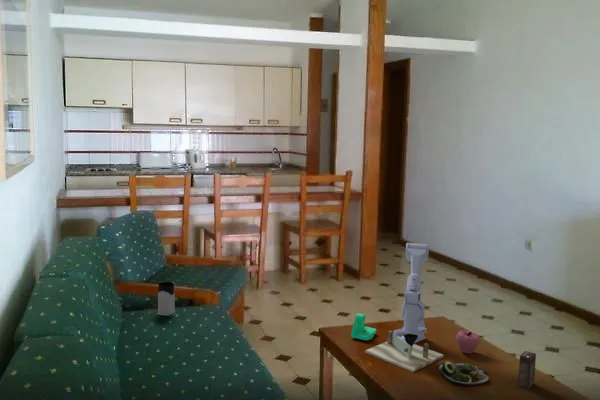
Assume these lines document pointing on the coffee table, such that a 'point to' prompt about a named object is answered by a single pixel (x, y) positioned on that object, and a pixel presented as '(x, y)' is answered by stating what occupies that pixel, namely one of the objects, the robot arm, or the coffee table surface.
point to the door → (401, 345)
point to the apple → (467, 341)
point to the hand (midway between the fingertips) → (409, 350)
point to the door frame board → (396, 357)
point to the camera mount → (362, 329)
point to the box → (527, 369)
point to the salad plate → (462, 373)
